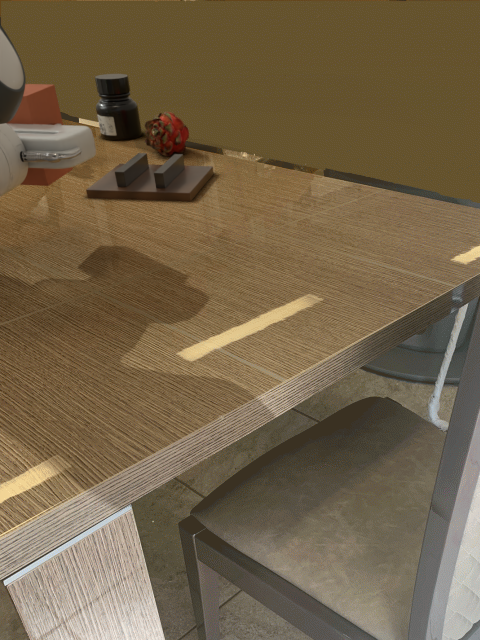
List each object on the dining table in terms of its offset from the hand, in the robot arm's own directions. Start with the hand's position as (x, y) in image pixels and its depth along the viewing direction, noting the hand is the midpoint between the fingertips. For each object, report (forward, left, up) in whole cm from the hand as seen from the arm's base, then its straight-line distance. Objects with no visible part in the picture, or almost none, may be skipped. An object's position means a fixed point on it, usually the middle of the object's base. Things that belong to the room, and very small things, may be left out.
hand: (39, 129), depth 87 cm
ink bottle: (+3, +60, -15) cm, 62 cm away
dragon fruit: (+14, +44, -15) cm, 48 cm away
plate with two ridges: (+12, +22, -15) cm, 29 cm away
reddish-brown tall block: (0, -1, -6) cm, 6 cm away
